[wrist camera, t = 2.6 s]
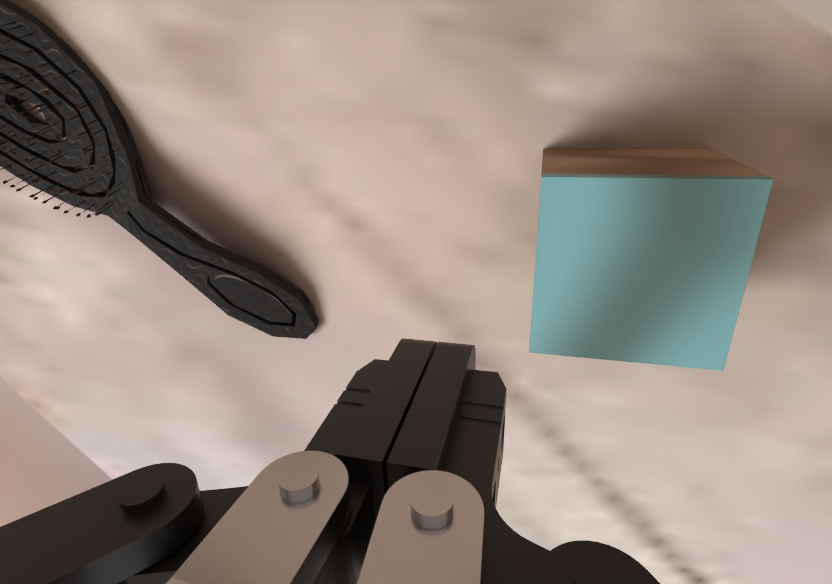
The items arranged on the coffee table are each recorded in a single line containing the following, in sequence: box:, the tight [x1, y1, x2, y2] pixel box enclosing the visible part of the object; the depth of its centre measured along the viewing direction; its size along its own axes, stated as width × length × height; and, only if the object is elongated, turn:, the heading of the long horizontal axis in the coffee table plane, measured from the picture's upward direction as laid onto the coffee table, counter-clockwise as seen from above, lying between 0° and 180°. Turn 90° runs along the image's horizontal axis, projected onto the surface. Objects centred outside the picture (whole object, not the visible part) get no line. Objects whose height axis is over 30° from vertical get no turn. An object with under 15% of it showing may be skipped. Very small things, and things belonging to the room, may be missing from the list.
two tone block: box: [529, 149, 773, 371], centre depth 18 cm, size 6×6×6 cm
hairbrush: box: [0, 0, 319, 339], centre depth 24 cm, size 8×4×25 cm
